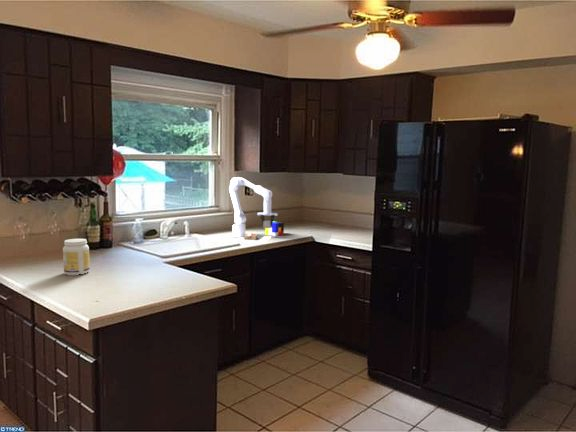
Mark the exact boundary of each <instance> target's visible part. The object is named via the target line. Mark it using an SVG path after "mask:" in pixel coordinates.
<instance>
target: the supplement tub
mask: <svg viewBox="0 0 576 432" xmlns="http://www.w3.org/2000/svg"><path fill="white" fill-rule="evenodd" d="M87 243H88V241H87V238H69V239H65V240H64V243H63V244H64V246H63V248H62V257H63V258H62V260H63V263H62V264H63V273H64V274H65V275H66V274H67V275H66V276H80V275H79V274H83V275H85V274H84V273H86V274H88V273H90V271H91V264H90V261H91V260H90V247H89V245H88V244H87ZM87 272H88V273H87Z"/></svg>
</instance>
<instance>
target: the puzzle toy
mask: <svg viewBox="0 0 576 432" xmlns="http://www.w3.org/2000/svg"><path fill="white" fill-rule="evenodd" d="M284 228H285V222H283V221H282V222H281V221H277V220H276V221H275V220H273V222H272V226H271V228H264V231H265V232H264V235H266V236H271V237H272V236H273V237H278V236H282V235H284V234H285V229H284Z"/></svg>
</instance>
